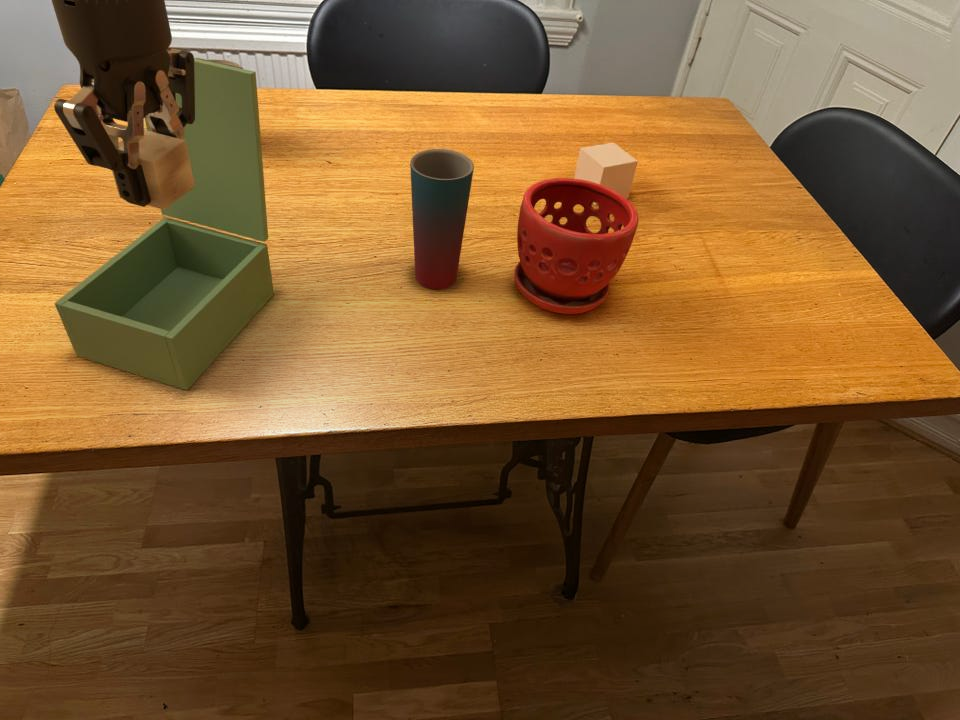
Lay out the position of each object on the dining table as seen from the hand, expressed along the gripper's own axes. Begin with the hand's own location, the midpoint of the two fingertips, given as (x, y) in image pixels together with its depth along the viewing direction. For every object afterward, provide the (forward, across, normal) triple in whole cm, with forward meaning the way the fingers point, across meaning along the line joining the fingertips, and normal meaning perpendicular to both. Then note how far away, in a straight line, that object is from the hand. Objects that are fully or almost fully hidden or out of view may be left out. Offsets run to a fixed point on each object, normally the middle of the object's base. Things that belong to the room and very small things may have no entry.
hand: (157, 188), depth 62 cm
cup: (+17, -20, +20) cm, 33 cm away
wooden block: (0, 0, 0) cm, 0 cm away
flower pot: (+17, -24, +35) cm, 46 cm away
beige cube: (+17, -50, +34) cm, 63 cm away
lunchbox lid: (+1, -10, -2) cm, 10 cm away
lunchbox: (+17, -1, -2) cm, 17 cm away
